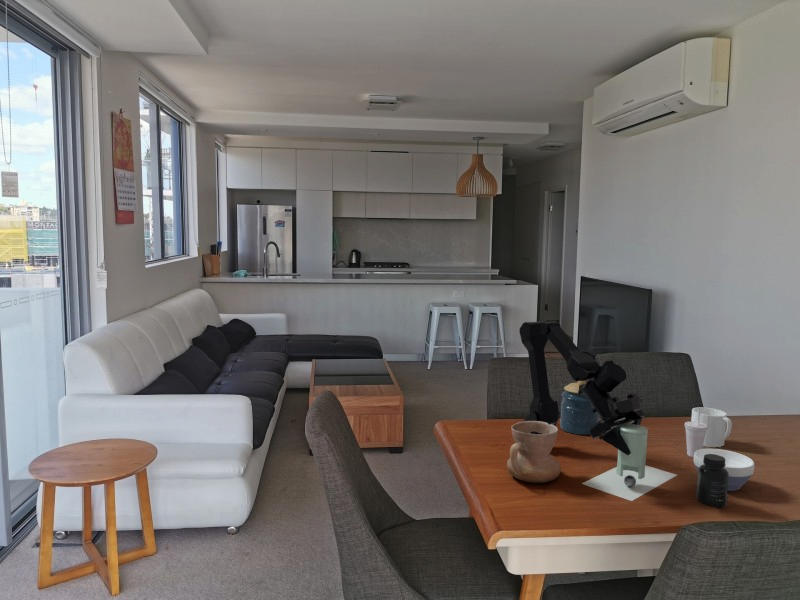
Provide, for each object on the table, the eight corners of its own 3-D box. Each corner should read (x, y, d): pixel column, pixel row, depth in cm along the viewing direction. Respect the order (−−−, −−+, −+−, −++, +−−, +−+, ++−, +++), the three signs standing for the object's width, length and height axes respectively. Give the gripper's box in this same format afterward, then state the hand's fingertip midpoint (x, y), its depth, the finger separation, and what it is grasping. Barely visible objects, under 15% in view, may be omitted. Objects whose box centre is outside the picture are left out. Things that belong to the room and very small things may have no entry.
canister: (599, 437, 204) (602, 385, 202) (558, 433, 208) (561, 381, 206) (598, 425, 217) (601, 376, 215) (560, 422, 220) (562, 373, 218)
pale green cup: (615, 476, 161) (618, 430, 160) (616, 467, 167) (619, 422, 166) (644, 481, 158) (648, 433, 157) (644, 471, 165) (647, 425, 164)
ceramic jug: (533, 462, 181) (534, 415, 179) (574, 478, 169) (575, 427, 168) (489, 477, 170) (490, 427, 168) (530, 495, 158) (531, 441, 157)
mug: (683, 440, 203) (685, 409, 202) (702, 435, 208) (704, 405, 207) (719, 452, 192) (721, 420, 191) (738, 447, 197) (741, 416, 196)
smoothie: (708, 460, 185) (711, 414, 184) (685, 458, 187) (688, 412, 185) (702, 452, 192) (705, 408, 190) (680, 450, 193) (683, 406, 191)
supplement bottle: (690, 497, 158) (693, 452, 157) (715, 497, 159) (719, 451, 158) (705, 509, 152) (709, 462, 150) (732, 509, 152) (736, 461, 151)
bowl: (751, 501, 157) (753, 472, 156) (688, 487, 165) (690, 460, 164) (753, 482, 169) (756, 455, 168) (695, 470, 177) (697, 444, 176)
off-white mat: (631, 502, 155) (631, 500, 155) (581, 485, 165) (581, 483, 165) (677, 476, 172) (677, 474, 172) (629, 462, 182) (629, 460, 182)
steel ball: (623, 487, 162) (624, 476, 162) (623, 483, 165) (624, 472, 165) (635, 489, 161) (636, 478, 161) (635, 485, 164) (636, 474, 164)
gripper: (602, 389, 157) (639, 443, 150) (640, 379, 169) (677, 429, 162) (574, 412, 164) (608, 465, 157) (613, 401, 176) (647, 449, 169)
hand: (636, 451), depth 161 cm, fingers closed on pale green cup, 7 cm apart
